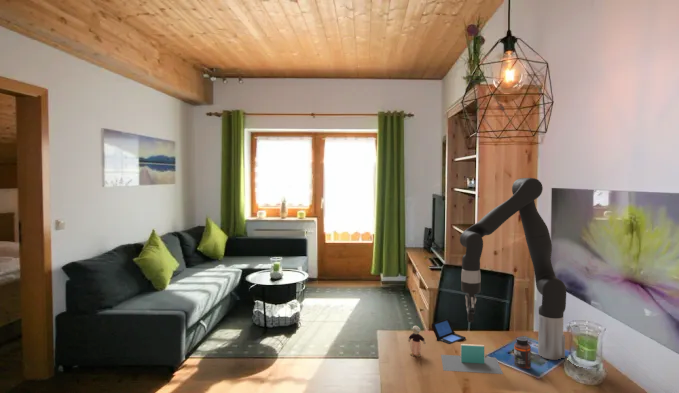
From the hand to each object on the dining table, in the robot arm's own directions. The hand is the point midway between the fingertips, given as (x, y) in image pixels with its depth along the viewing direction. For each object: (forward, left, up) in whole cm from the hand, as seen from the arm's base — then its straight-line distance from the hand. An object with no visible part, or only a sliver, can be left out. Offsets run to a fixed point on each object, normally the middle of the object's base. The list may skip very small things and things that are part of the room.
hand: (470, 321), depth 171 cm
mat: (+1, +7, -16) cm, 17 cm away
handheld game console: (+7, -20, -16) cm, 26 cm away
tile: (0, +5, -15) cm, 16 cm away
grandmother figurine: (+22, 0, -16) cm, 27 cm away
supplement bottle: (-19, +5, -16) cm, 25 cm away
